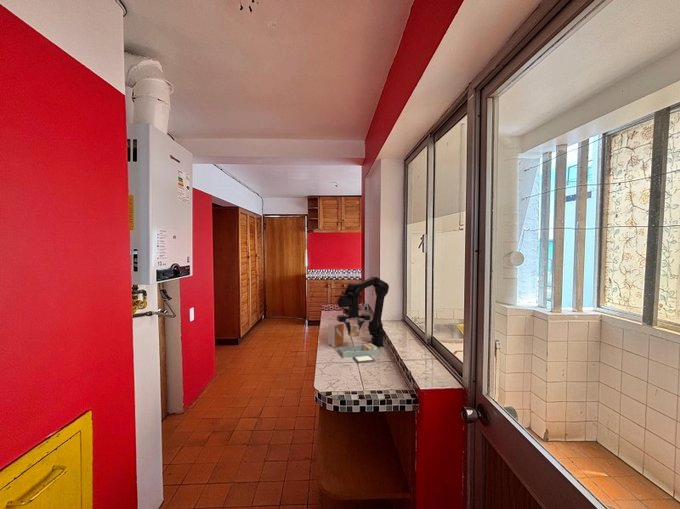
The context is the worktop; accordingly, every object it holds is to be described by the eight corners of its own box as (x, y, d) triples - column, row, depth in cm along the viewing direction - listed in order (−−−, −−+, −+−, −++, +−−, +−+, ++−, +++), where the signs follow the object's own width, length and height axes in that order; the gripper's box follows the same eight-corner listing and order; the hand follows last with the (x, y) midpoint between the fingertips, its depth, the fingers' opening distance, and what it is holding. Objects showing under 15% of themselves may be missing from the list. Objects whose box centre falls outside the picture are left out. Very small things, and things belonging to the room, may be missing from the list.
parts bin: (372, 348, 185) (372, 344, 185) (379, 354, 175) (379, 349, 175) (337, 351, 179) (337, 347, 179) (343, 357, 168) (343, 353, 168)
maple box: (370, 349, 183) (370, 343, 183) (376, 353, 176) (376, 346, 176) (362, 350, 181) (363, 344, 181) (368, 354, 174) (369, 347, 174)
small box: (334, 346, 188) (334, 325, 188) (327, 344, 193) (327, 323, 192) (343, 343, 194) (344, 323, 193) (337, 341, 198) (337, 321, 198)
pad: (369, 356, 171) (369, 355, 171) (375, 361, 163) (375, 359, 163) (352, 358, 168) (352, 356, 168) (357, 363, 160) (357, 361, 160)
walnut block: (356, 334, 179) (356, 323, 179) (359, 336, 174) (359, 325, 174) (347, 334, 177) (348, 324, 177) (350, 337, 172) (350, 326, 172)
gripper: (363, 302, 186) (363, 328, 186) (334, 303, 180) (334, 330, 181) (370, 305, 175) (370, 333, 175) (339, 307, 170) (339, 335, 170)
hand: (353, 332), depth 176 cm, fingers closed on walnut block, 5 cm apart
